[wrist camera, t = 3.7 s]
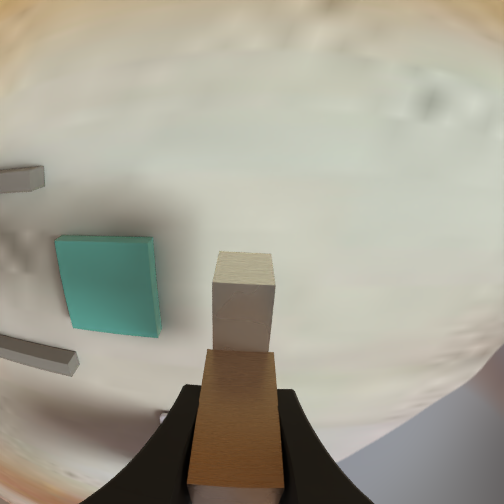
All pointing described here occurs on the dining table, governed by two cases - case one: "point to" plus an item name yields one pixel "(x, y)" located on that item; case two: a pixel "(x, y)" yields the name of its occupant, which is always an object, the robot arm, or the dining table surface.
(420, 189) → the dining table surface
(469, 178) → the dining table surface
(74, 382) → the dining table surface
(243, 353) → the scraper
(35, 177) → the frame
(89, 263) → the tile
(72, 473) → the dining table surface
